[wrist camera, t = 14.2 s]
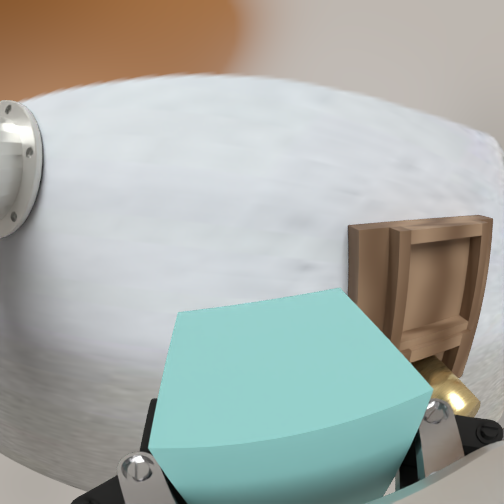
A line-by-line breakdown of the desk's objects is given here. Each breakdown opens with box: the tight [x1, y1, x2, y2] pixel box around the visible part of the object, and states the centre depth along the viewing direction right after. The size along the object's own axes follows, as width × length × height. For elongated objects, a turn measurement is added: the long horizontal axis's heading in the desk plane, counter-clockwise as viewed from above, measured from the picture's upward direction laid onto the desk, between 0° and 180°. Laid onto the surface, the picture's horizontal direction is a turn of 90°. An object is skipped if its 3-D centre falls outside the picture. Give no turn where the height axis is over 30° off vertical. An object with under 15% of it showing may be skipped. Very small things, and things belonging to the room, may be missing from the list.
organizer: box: [348, 215, 493, 378], centre depth 22 cm, size 15×18×4 cm
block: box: [148, 288, 433, 504], centre depth 8 cm, size 6×6×6 cm
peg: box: [411, 355, 480, 417], centre depth 19 cm, size 4×4×8 cm
